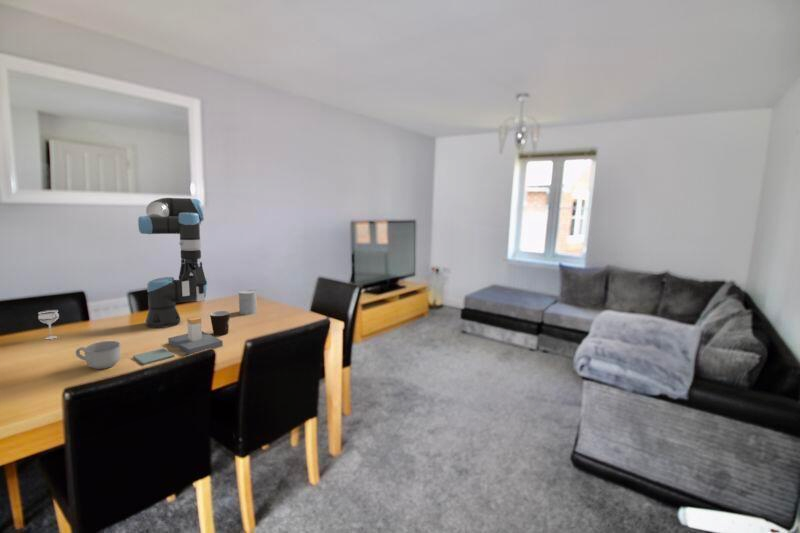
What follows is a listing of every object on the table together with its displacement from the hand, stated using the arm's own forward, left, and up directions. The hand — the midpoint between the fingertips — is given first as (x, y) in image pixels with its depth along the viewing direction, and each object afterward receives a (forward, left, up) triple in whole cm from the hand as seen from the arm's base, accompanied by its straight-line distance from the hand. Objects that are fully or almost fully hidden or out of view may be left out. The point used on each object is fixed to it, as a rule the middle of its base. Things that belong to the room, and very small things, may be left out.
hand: (193, 298), depth 163 cm
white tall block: (0, 0, -21) cm, 21 cm away
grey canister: (-30, +43, -21) cm, 57 cm away
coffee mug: (-7, +16, -21) cm, 28 cm away
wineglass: (-54, -38, -21) cm, 69 cm away
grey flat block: (0, 0, -21) cm, 21 cm away
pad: (+2, -17, -21) cm, 27 cm away
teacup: (-4, -33, -21) cm, 40 cm away
